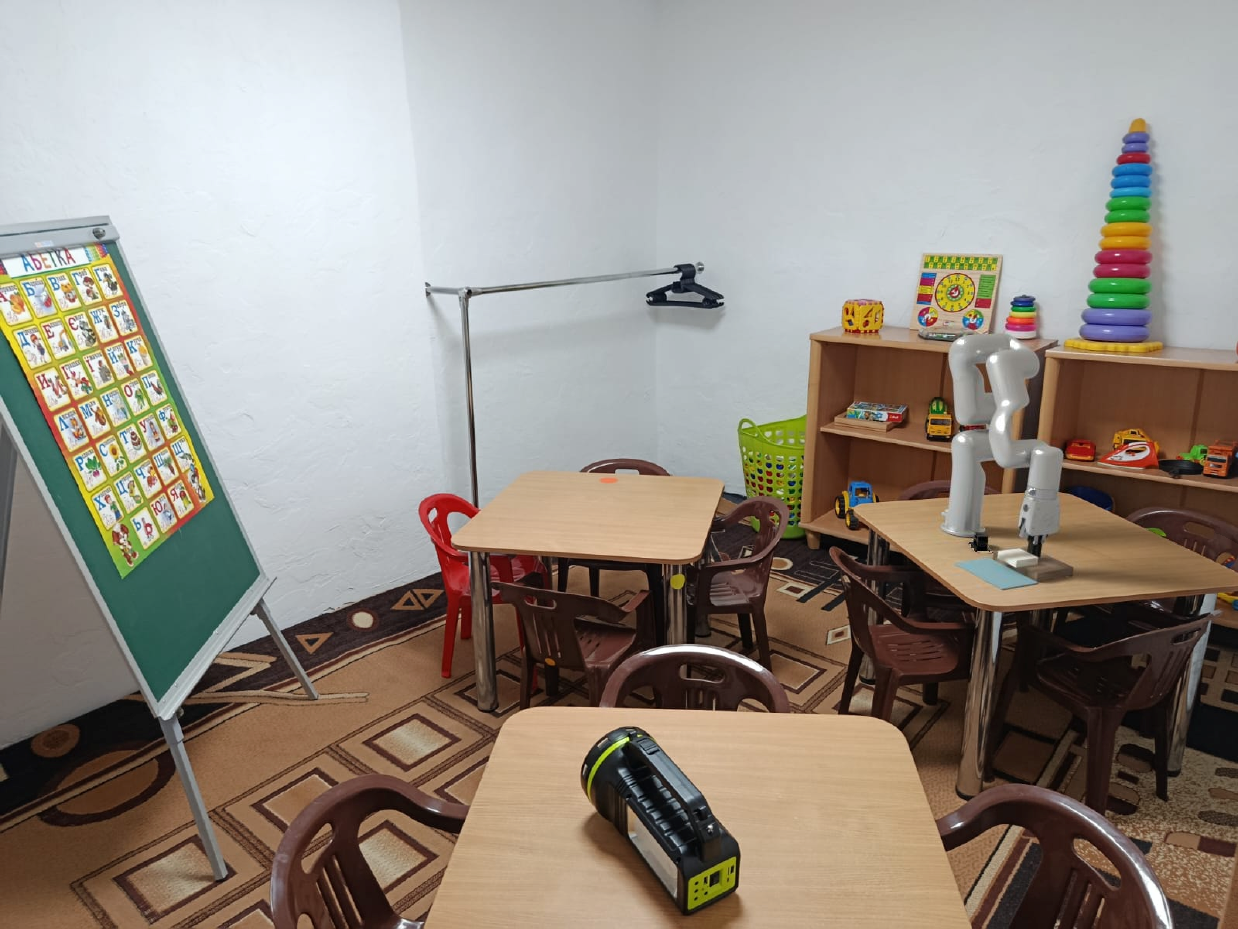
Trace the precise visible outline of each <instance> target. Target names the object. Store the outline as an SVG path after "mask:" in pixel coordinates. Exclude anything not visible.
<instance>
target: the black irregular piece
mask: <svg viewBox="0 0 1238 929" xmlns="http://www.w3.org/2000/svg"><path fill="white" fill-rule="evenodd" d="M972 541H973V542H969V543H967V544H968V545H969V544H971V547H970V548H971V549H972V548H974V551H975V552H977V551H989V552H990V551H993V549H992V550H990V549H989V548H991V547H990V546H989V536H988V534H987V533H986V531H985V532H975V534H974V537H973V540H972ZM988 546H989V547H988ZM974 551H973V552H974ZM993 552H994V551H993ZM993 552H992V553H993ZM992 553H991V554H992Z"/></svg>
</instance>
